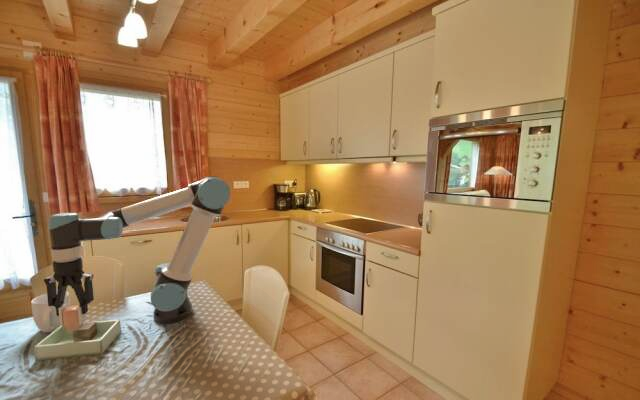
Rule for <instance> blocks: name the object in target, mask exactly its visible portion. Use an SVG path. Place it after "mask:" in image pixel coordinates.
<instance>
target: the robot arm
mask: <svg viewBox="0 0 640 400" xmlns="http://www.w3.org/2000/svg"><path fill="white" fill-rule="evenodd" d="M230 198H231V187H230V186H229V184H228V183H227V181H225V180H224V179H222V178H220V177H218V176H214V175H213V176H206V177H204V178H202V179H200V180H198V181H196V182H193V183H190V184H188V186H187V187H185V188H182V189H179V190H175V191H173V192H169V193H165V194H162V195H160V196H156V197H153V198H150V199H147V200H143V201H140V202H138V203H134V204H131V205H128V206H127V205H126V206H125V207H122V208H118V209H115V210H110V211H107V212H105V213H103V214H102V215H101V216H98V217H96V218H95V217H93V218H80V217H79V214H78V213H76V212H63V213H56V214H53V215H51V216H50V217H48V231H49V233H48V234H49V239H50V240H49V241H50V247H51V248H50V249H51V250H50V251H51V260H52V271H53V273H54V274H52V275H50V276H48V277H46V278H44V279H43V282H44V284H45V286H46V294H47V297H48V306H54V307H55V308H56V315H57V316H59V319H60V326H63V325H64V323H63V312H62V311H63V310H64V309H65V308H67V305H66V304H64V303H65V302H64V299H65V294H66V292H67V288H68V286H69V287H71V289H72V290H73V291H74V294H75V296H76V299H77V300H78V301H77V302H78V303H79V304H78V305H79V306H78V307H77V308H78V319H79V324H82V323H85V322H87V316H86V315H87V313H88V311H89V304H91V303H92V302H93V301H94V299H95V298H94V288H93V287H94V285H93V279H94V274H93V273H90V274H87V273H85V272H84V270H83V268H84V265H83V263H84V262H83V257H82V255H83V254H82V242H84V241H98V240H112V239H113V240H114V239H119V238H121V237H122V235H123V230H124V229H125V228H127V227H129V226H131V225H136V224H138V223H142V222H145V221H147V220H151V219H153V218H156V217H160V216H163V215H165V214H168V213H170V212H171V213H172V212H174V211H177V210H181V209H183V208H186V207H189V206H191V207H192V211H191V214H190V216H189V218H188V220H187V223H186V225H185V228H184V229H183V232H182V234H181V237H179V240H178V242H177V245H176V247H175V249H174V252H173V253H172V256H171V259H170V261H169V262H168V263H167V262H164V263H161V264H159V265H157V266H156V267H155V272H154V273H155V281H154V284H153V287H152V291H150V292H151V293H150V303H151V305H152V307H153V308H154V310H153V315H152V316H153V321H154V322H155V323H158V324H172V323H177V322H180V321H183V320H184V319H187V318H188V317H189V316H190V315H191V314H192V312H193V305H192V303H191V300H190V299H189V296H188V289H189V286H190V284H191V282H192V279H193V275H192V273H191V272H192V270H193V267H194V265H195V263H196V260H197V259H198V256H199V254H200V252H201V249H202V248H203V246H204V243H205V240H206V239H207V237H208V235H209V232H210V230H211V227H212V224H213V223H214V220H215V218H217V217H219V216H220V215H222V212H223V209H224V207H225V206H226V205H227V204H228V202H229V200H230ZM82 279H83V280H82ZM82 281H83V282H82ZM56 282H57V283H58V284H57V283H56ZM63 304H64V305H63Z"/></svg>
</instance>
